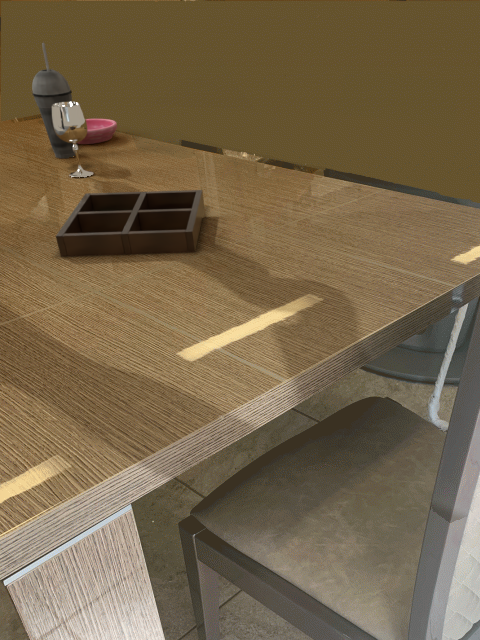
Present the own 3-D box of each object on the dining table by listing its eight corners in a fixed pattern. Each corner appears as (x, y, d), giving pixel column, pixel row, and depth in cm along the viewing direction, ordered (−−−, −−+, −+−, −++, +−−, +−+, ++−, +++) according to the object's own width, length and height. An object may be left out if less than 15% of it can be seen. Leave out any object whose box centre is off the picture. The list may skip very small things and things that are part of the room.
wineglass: (75, 169, 123) (59, 100, 116) (102, 170, 122) (88, 101, 115) (59, 178, 119) (41, 107, 111) (88, 179, 118) (72, 108, 110)
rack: (63, 265, 87) (55, 236, 84) (91, 219, 101) (85, 193, 98) (196, 260, 88) (192, 231, 85) (205, 216, 102) (202, 189, 99)
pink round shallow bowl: (54, 137, 143) (50, 122, 141) (108, 130, 148) (106, 115, 147) (70, 149, 135) (66, 133, 133) (127, 141, 140) (124, 125, 138)
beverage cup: (75, 148, 135) (50, 38, 123) (91, 155, 131) (67, 42, 119) (42, 155, 131) (13, 42, 119) (57, 162, 127) (29, 46, 115)
